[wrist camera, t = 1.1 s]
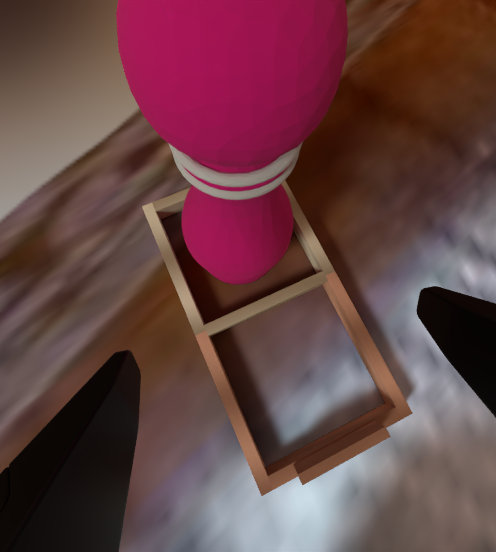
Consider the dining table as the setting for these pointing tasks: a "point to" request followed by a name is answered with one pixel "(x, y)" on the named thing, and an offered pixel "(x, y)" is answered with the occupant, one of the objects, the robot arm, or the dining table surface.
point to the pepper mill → (234, 111)
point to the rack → (333, 444)
